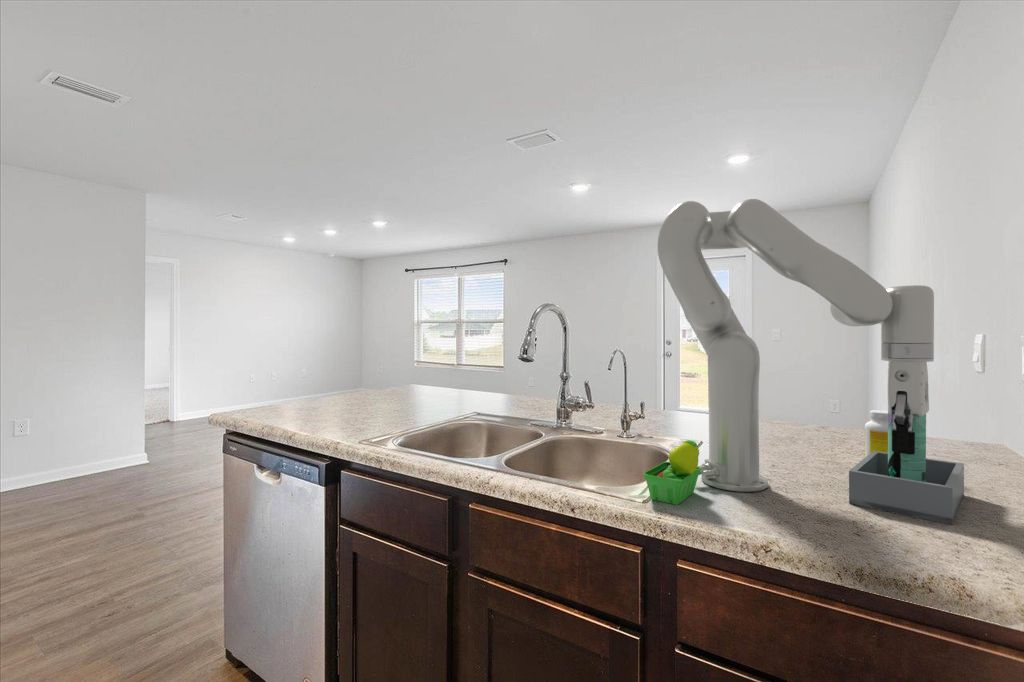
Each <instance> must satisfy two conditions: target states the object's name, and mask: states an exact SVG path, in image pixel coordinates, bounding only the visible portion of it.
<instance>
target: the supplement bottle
mask: <svg viewBox="0 0 1024 682" xmlns="http://www.w3.org/2000/svg"><path fill="white" fill-rule="evenodd" d="M869 417H870V421H867V422H866V423H865V424H864V458H865V457H866V456H868V455H869V454H870V453H871V452H872V451H877V452H885V453H888V410H882V409H873V410H872V409H871V410H870V411H869Z"/></svg>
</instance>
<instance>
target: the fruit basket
mask: <svg viewBox="0 0 1024 682" xmlns="http://www.w3.org/2000/svg"><path fill="white" fill-rule="evenodd" d="M699 455H700V450H699V447H698V444H697V442H695V440H691V439H687V440H685V441H684V442H682V443H681V444H680V445H679V446H676V447H674V448H673V449H672V450H670V451H669V452H668V460H669V461H663V462H661V463H660V464H657V465H656V466H654V467H652V468H650V469H648V470H647V471H645V472H643V477H644V479H645V481H646V484H647V489H648V492H649V495H650V499H651V500H653V501H657V502H661V503H662V502H663V503H667V504H673V505H677V506H678V505H680V504H681V502H684V500H686V499H687V498H688V497H689V496H690V495H693V494H694V492H695V489H696V485H697V482H698V478H699V476H700V475H699V473H700V470H701V468H700V467H697V466H699Z"/></svg>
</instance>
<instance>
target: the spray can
mask: <svg viewBox="0 0 1024 682" xmlns="http://www.w3.org/2000/svg"><path fill="white" fill-rule="evenodd" d="M925 398H926V396H925ZM892 410H894V407H892ZM887 411H888V410H887ZM892 413H894V412H892ZM905 414H910V412H906V411H905ZM893 416H894V415H893V414H891V413H890V412H889V411H888V476H891V477H897V478H903V479H909V480H915V481H922V482H926V458H927V413H926V414H925V415H923V416H922V417H918V415H917V414H914V421H913V432H915V453H914V454H913V455H910V454H903V453H896V452H893V451H892V430H893ZM906 419H907V418H906ZM908 420H909V419H908ZM908 425H909V424H908Z"/></svg>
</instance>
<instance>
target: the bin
mask: <svg viewBox="0 0 1024 682" xmlns="http://www.w3.org/2000/svg"><path fill="white" fill-rule="evenodd" d="M964 495H965V463H964V462H956V461H951V460H950V461H949V460H948V461H947V460H942V459H934V458H928V457H926V482H922V481H915V480H909V479H903V478H897V477H891V476H888V453H885V452H877V451H872V452H871V453H870V454H869V455H868V456H866V457H865V456H864V458H863V459H861V460H860V461H859V462H857V463H856V464H855V465H854V466H853V467H852V468H851V469H850V470H848V503H850V505H854V504H855V506H859V505H860V506H859V507H863V506H864V507H863V508H869V509H873V510H879V511H883V512H887V513H888V512H889V513H892V512H894V513H893V514H897V513H898V515H902V514H903V516H907V515H908V516H907V517H911V516H912V518H916V517H917V518H918V519H921V518H922V519H923V520H927V521H930V522H931V521H932V522H935V523H936V522H937V523H941V524H945V525H951V526H953V524H954V523H955V519H956V517H957V515H956V514H958V512H959V509H960V506H961V503H962V502H963V499H964V497H965V496H964ZM917 518H916V519H917Z"/></svg>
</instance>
